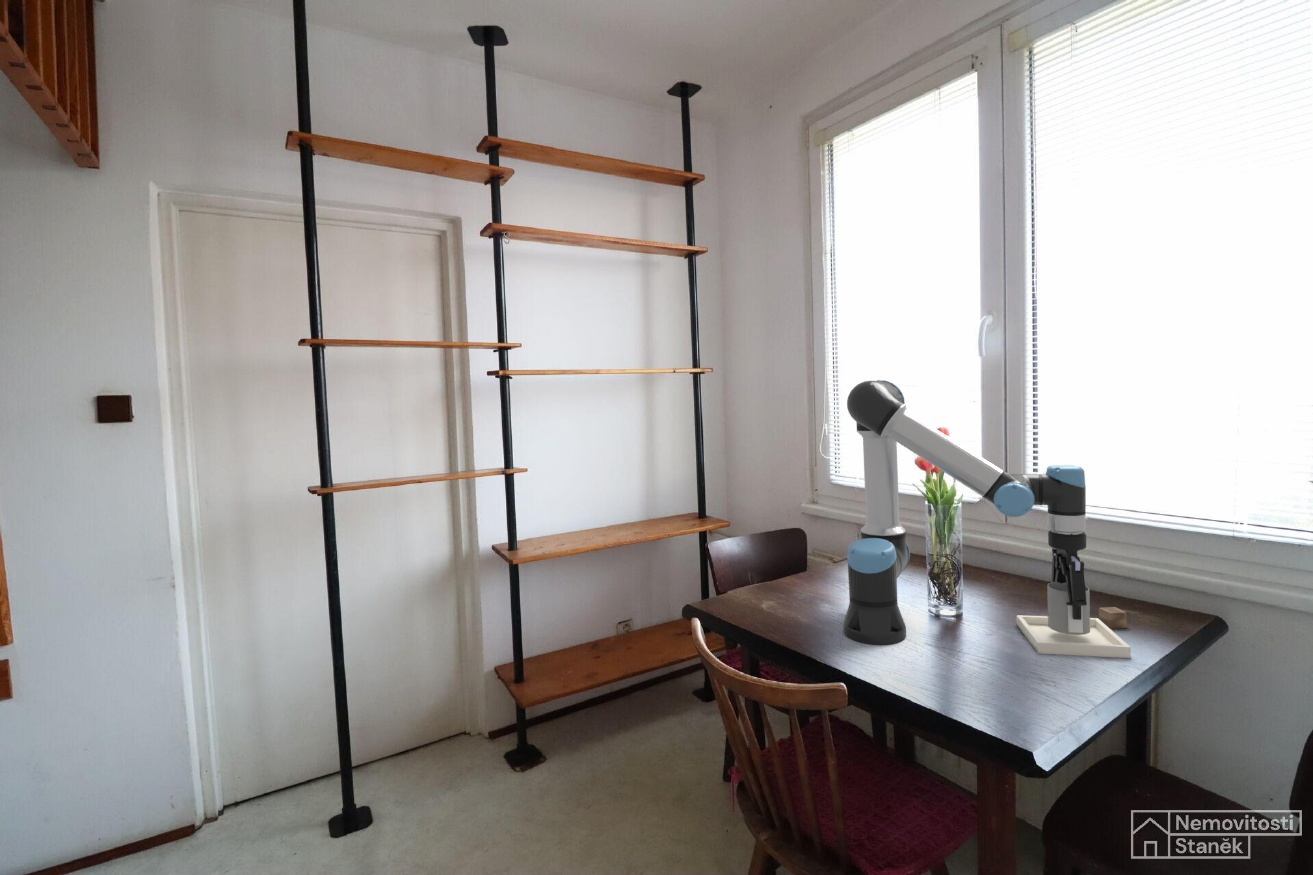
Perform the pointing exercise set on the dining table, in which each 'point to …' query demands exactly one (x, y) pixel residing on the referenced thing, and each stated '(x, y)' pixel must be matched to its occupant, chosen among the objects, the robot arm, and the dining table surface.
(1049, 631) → the tray
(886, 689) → the dining table surface
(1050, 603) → the cup
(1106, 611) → the walnut block
